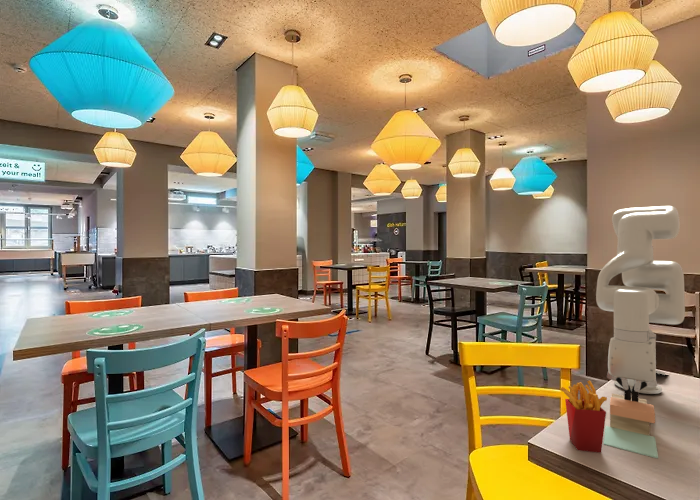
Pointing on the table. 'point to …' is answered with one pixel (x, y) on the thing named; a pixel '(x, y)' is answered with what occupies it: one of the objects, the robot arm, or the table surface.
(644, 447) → the mat
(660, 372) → the smartphone
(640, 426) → the sheet
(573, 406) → the french fries
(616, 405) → the card
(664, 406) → the table surface
